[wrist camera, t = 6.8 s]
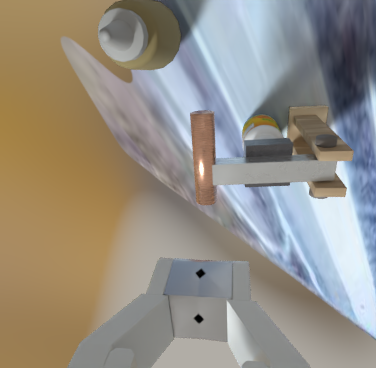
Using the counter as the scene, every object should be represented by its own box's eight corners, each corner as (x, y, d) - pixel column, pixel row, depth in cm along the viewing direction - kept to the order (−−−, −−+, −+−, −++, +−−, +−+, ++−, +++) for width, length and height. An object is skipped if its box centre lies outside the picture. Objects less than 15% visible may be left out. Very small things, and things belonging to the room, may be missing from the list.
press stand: (289, 106, 42) (316, 141, 28) (326, 105, 41) (372, 140, 27) (285, 152, 45) (308, 204, 31) (319, 151, 44) (359, 205, 30)
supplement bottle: (286, 126, 43) (298, 148, 35) (263, 154, 46) (269, 181, 37) (256, 106, 43) (261, 123, 34) (235, 135, 45) (234, 158, 37)
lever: (191, 107, 32) (189, 116, 28) (330, 99, 31) (347, 107, 27) (196, 188, 36) (195, 205, 33) (318, 184, 35) (332, 200, 31)
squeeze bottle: (122, 53, 42) (52, 62, 26) (138, -9, 38) (69, -42, 22) (173, 77, 43) (135, 100, 27) (194, 18, 39) (165, 4, 23)
